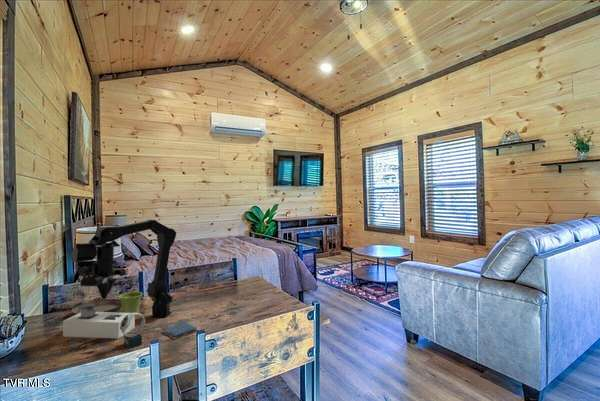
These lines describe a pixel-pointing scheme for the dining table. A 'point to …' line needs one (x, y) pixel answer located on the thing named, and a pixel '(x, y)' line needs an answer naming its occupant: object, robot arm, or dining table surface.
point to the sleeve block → (96, 326)
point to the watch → (135, 337)
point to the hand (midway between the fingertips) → (104, 298)
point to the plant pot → (131, 302)
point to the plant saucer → (101, 306)
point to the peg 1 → (88, 311)
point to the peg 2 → (112, 317)
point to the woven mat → (179, 330)
